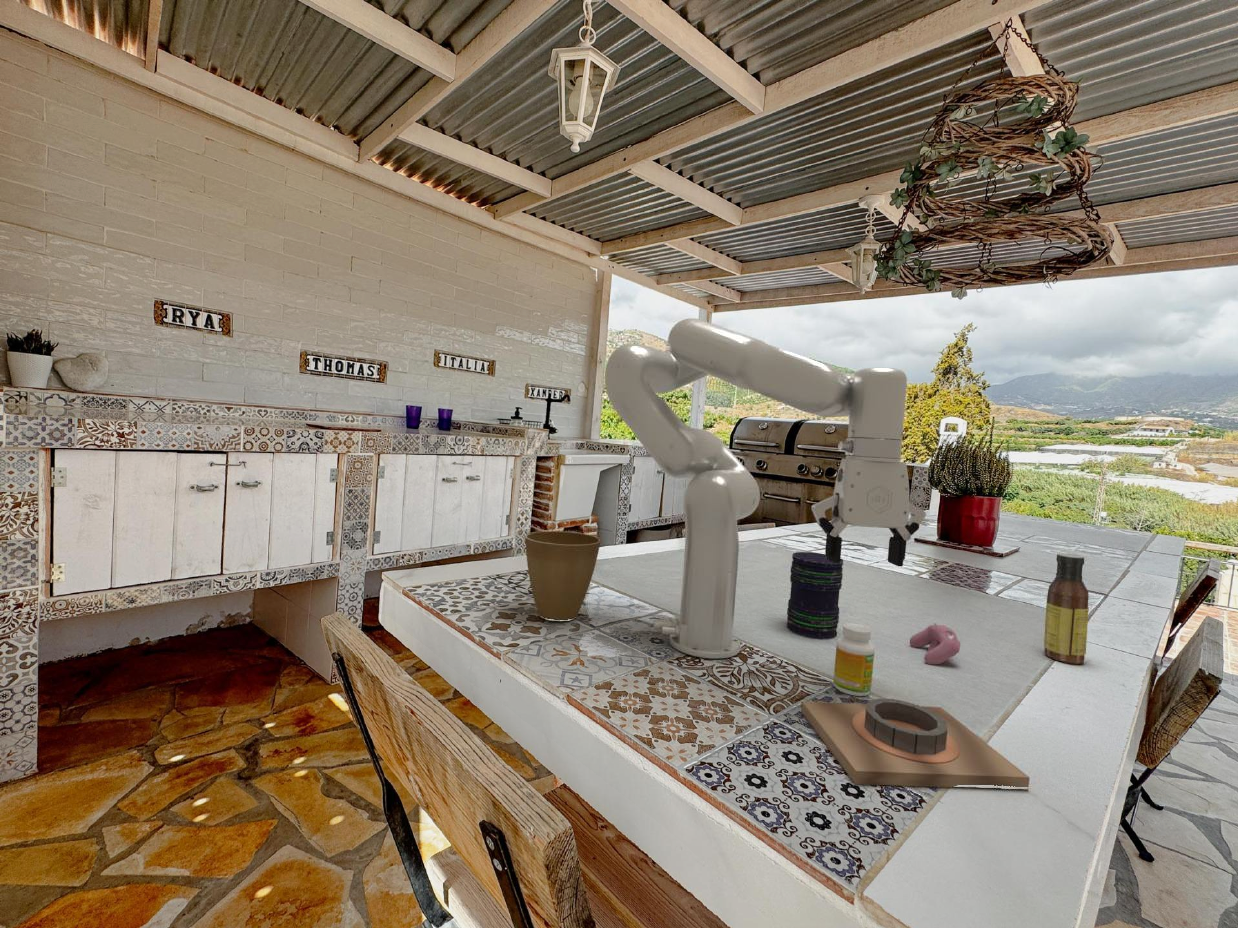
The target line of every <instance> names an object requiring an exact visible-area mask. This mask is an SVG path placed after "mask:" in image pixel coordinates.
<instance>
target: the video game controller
mask: <svg viewBox="0 0 1238 928" xmlns="http://www.w3.org/2000/svg"><path fill="white" fill-rule="evenodd" d="M909 645H910V646H911V647H912V648H922V647H923V648H924V647H926V646H928V651H927V652H926V654H925V655H924V658H923V660H924V662H925V663H926V664H927V665H940V664H942V663H944V662H947V660H949V659H951V658H953V657H954V656H956V655H957V654H959V653H960V648H961V641H960V640H959V639H958V637H957V634H956V633H955V631H954V630H953V629H951V628H949V627H948V626H946V625H944V624H943V625H941V624H937V623H936V622H934V623H933V624H931V625H928V626H927V627H926V628H925V629H923V630H922V631H919V632H917V633H916V634H913V635H912V636H911V638H910V639H909Z"/></svg>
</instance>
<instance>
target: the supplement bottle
mask: <svg viewBox="0 0 1238 928" xmlns="http://www.w3.org/2000/svg"><path fill="white" fill-rule="evenodd" d="M871 634H872V630H871V628H870V627H868V626H866V625H863V624H859V623H852V622H851V623H850V622H847V623H844V624H843V625H842V635H843V636H841V637H840V638H838V639H837V641H836V648H835V657H834V658H835V660H834V667H833V668H834V669H833V671H834V672H833V679H832V682H833V686H834V687H835V689H837V690H838V691H839V692H842V693H844V694H846V695H850V696H855V697H856V696H857V697H866V696H868V695H870V694H871V690H872V681H873V680H872V679H873V670H874V658H875V647H874V645H873V643H871V641H870V640H871V637H872V635H871Z"/></svg>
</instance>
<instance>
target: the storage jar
mask: <svg viewBox="0 0 1238 928" xmlns="http://www.w3.org/2000/svg"><path fill="white" fill-rule="evenodd" d="M791 557H792V560H791V566H790V576H789V579H790V594H789V595H790V597H789V599H788V602H787V610H786V615H787V618H786V620H787V622H786V629H787V628H788V629H789V630H790V631H789V630H788V629H787V630H788V631H789V632H791V631H792V632H791V633H792V634H795V635H797V636H801V637H804V638H808V639H813V640H832V639H835V638H837V635H838V631H837V629H838V625H839V623H840V621H839V620H840V616H839V615H840V608H839V602H840V601H839V600H840V590H841V589H842V586H843V584H842V583H843V582H842V580H843V575H844V573H843V571H844V570H843V569H844V568H843V565H844V560H843V559H842V558H841V559H840V563H833V562H831V561H829V560H828V559H827V556H826V554H825V553H820V552H819V553H818V552H808V551H800V552H798V551H797V552H794V553H792V556H791Z"/></svg>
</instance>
